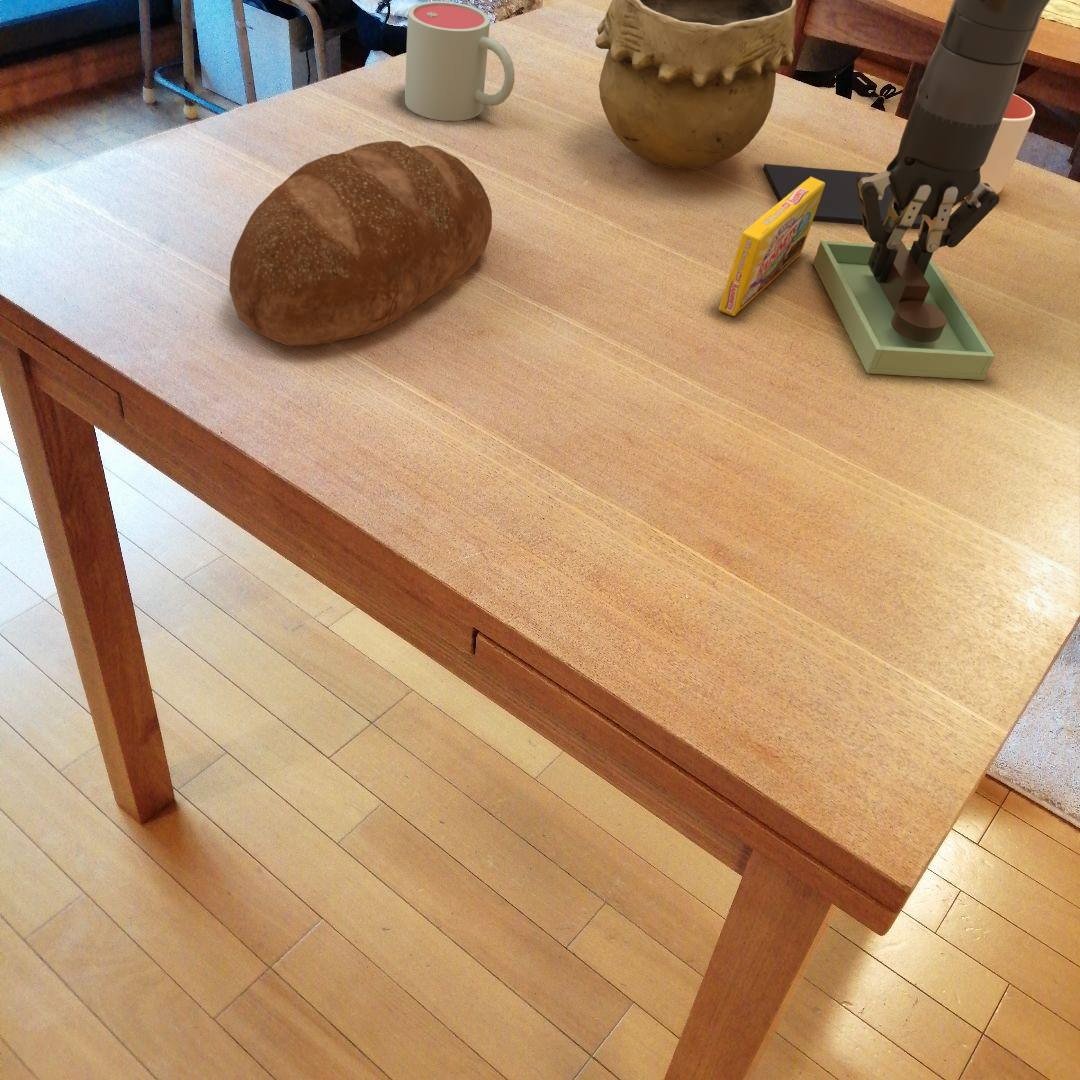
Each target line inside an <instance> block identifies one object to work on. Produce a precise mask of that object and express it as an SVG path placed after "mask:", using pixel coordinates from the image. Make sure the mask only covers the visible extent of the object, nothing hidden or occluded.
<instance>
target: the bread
mask: <svg viewBox="0 0 1080 1080" xmlns="http://www.w3.org/2000/svg"><path fill="white" fill-rule="evenodd" d="M492 228H493V209H492V206H491V201H490V197H489V196H488V194H487V193H486V190H485V188H484V186H483V184H482V182H481V181H480V180H479V179H478V177H477V176H476V175H475V173H474V172H473V171H472V170H471V169H470V168H469V167H468V166H467V165H466V163H464V162H463V161H462V160H461V159H460V158H459V157H456V156H454V155H452V154H451V153H448V152H446V151H444V150H443V149H441V148H439V147H436V146H433V145H430V144H429V145H428V144H427V145H424V144H423V145H416V146H409V145H408V144H407V143H405V142H402V141H400V140H399V141H398V140H383V141H375V142H369V143H365V144H361V145H358V146H356V147H352V148H350V149H348V150H345V151H342V152H339V153H331V154H327V155H325V156H322V157H319V158H317V159H314V160H312V161H310V162H307V163H305V164H304V165H302V166H300V167H299V168H298V169H297V170H295V171H294V172H293V173H292V174H291V175H290V176H289V177H288V178H287V179H285V180H284V181H283V182H282V183H281V184H280V185H278V186H277V187H275V188H274V189H273V190H272V191H271V192H270V194H268V196H267V197H265V198H264V199H263V200H262V201H261V203H260V204H258V206H257V207H256V208H255V209H254V211H253V212H252V214H251V215H250V217H249V219H248V220H247V222H246V225H245V226H244V228H243V231H242V233H241V235H240V237H239V238H238V241H237V243H236V246H235V248H234V250H233V253H232V257H231V260H230V267H229V289H228V290H229V294H230V296H231V300H232V303H233V306H234V309H235V312H236V315H237V318H238V319H239V320H240V321H241V322H243V324H245V325H246V326H248V327H249V328H250V329H251V330H253V331H255V332H256V333H258V334H260V335H262V336H264V337H266V338H268V339H270V340H272V341H274V342H277V343H279V344H282V345H285V346H288V347H302V346H312V345H321V344H325V343H326V344H327V343H332V342H337V341H343V340H347V339H350V338H355V337H359V336H364V335H366V334H370V333H373V332H375V331H377V330H379V329H381V328H384V327H386V326H388V325H389V324H391V323H393V322H395V321H396V320H398V319H399V318H401V317H402V316H404V315H406V313H408V312H410V311H411V310H413V309H415V308H416V307H417V306H419V305H420V304H422V303H423V302H424V301H426V300H428V299H429V298H430V297H432V296H433V295H435V294H436V293H437V292H439V291H441V290H442V289H443V288H445V287H447V286H448V285H450V284H451V283H452V282H454V281H455V280H457V279H458V278H460V277H461V276H462V275H463V274H465V273H466V272H467V271H468V270H470V269H471V267H472V266H473V265H474V264H475V262H476V261H477V260H479V259H478V258H480V256H481V255H482V254H483V252H484V251H485V250H486V248H487V244H488V243H489V238H490V235H491V232H492Z"/></svg>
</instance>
